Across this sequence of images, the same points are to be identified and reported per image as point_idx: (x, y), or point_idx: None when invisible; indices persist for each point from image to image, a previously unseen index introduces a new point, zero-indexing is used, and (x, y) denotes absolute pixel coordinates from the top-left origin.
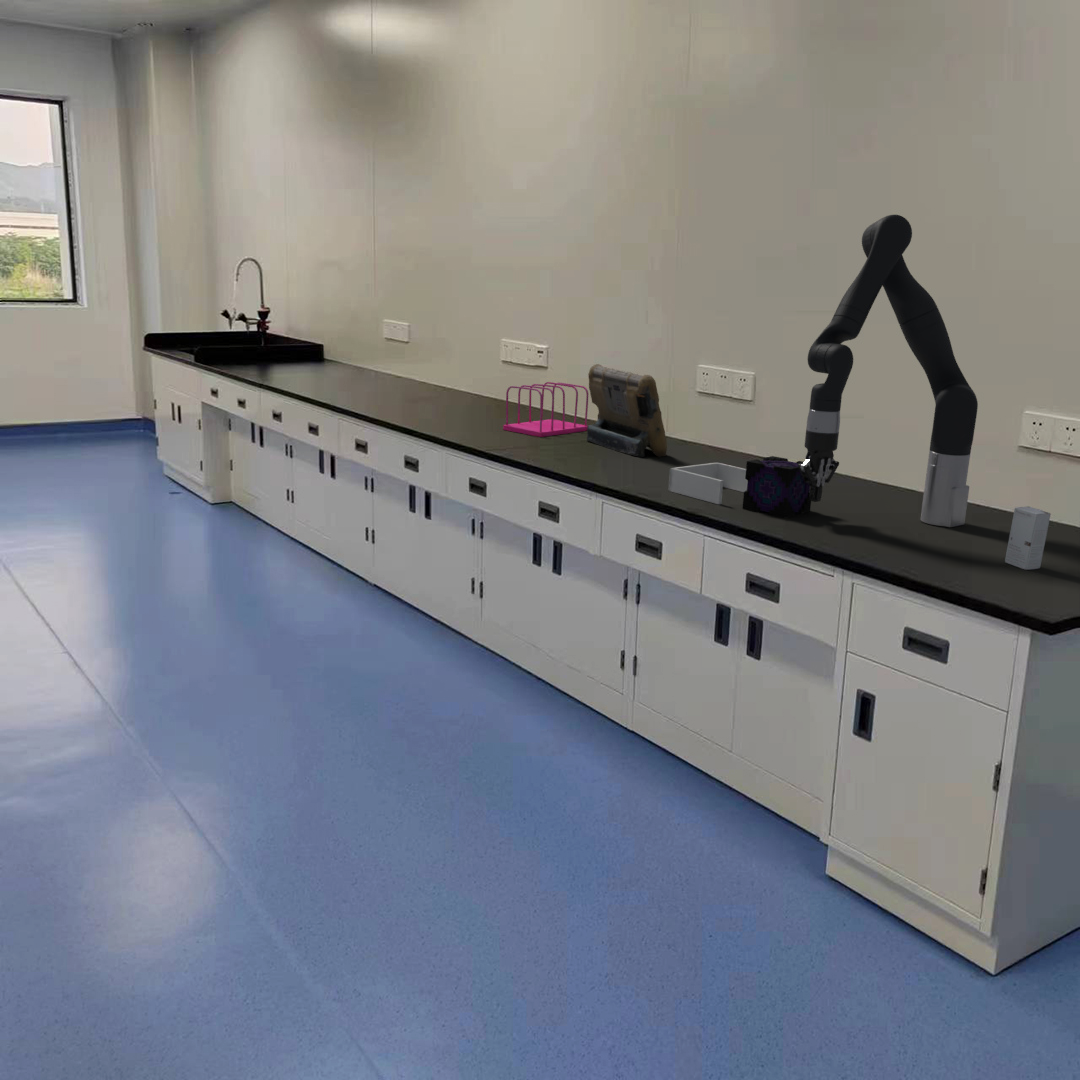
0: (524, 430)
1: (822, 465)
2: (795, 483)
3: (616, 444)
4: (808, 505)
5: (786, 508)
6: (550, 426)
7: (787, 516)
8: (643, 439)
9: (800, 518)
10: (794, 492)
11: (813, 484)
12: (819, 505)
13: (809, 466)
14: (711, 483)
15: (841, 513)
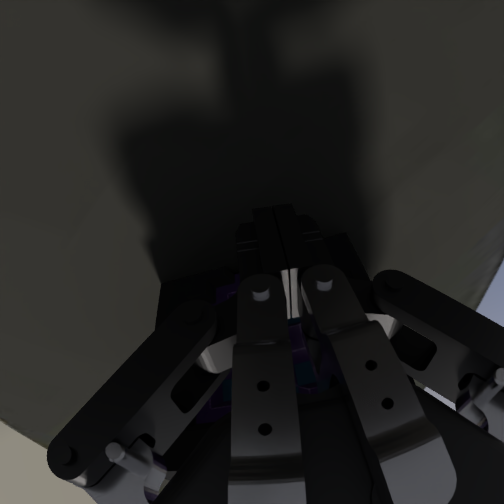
0: None
1: (396, 439)
2: (294, 374)
3: None
4: (174, 297)
5: (354, 258)
6: None
7: (329, 239)
8: None
9: (296, 207)
10: (299, 331)
11: (392, 271)
12: (87, 320)
13: (485, 405)
14: None
15: (60, 224)
